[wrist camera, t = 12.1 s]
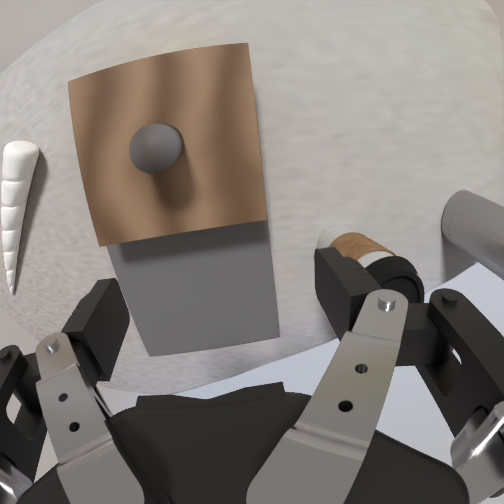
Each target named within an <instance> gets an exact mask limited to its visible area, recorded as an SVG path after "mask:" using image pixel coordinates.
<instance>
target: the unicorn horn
mask: <svg viewBox="0 0 504 504" xmlns="http://www.w3.org/2000/svg"><path fill="white" fill-rule="evenodd" d="M38 155H39V148H38V147H37V145H35V144H33V143H30V142H27V141H13V142H10V143H8V144H7V145H6V146H5V148H4V153H3V167H2V178H3V181H2V186H1V204H2V205H3V207H1V225H2V229H3V231H2V242H3V250H4V251H5V252H4V261H5V268H6V270H7V272H6V275H7V280H8V285H9V287H10V292H11V294H13V291H14V284H15V276H16V267H17V258H18V251H19V244H20V237H21V230H22V224H23V218H24V213H25V208H26V203H27V198H28V193H29V189H30V185H31V181H32V177H33V173H34V168H35V166H36V162H37V159H38Z"/></svg>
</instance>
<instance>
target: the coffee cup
mask: <svg viewBox="0 0 504 504" xmlns="http://www.w3.org/2000/svg"><path fill="white" fill-rule="evenodd" d="M333 246H334V247H335V248H336V249H337V250H338V251H339V252H340V254H341V255H342V256H343V257H347V256H349V257H351V258H353V259H355V260H357V261H358V262H359V263H360V264H361V265H362V266H363V267H364V269H366V270H367V271H368V273H369V274H370V275H371V276H372V277H373V278H374V279H375V280H376V282H377V283H378V284H379V285H380V286H381V287H382V288H383V289H387V290H393V291H397V292H399V293H401V294H402V295H404V296H405V297H406V299H407V300H408V303H424V286H423V283H422V281H421V279H420V277H419V276H418V274H417V271H416V269H415V268H414V266H413V265H412V264H411V263H410V262H409V261H408V260H407V259H405V258H403V257H399V256H396V255H395V254H394V253H393V252H391V251H390V250H388V249H386V248H385V247H383V246H381V245H380V244H378V243H376V242H375V241H373V240H371V239H369V238H368V237H366V236H364V235H362V234H360V233H359V232H357V231H356V230H354V229H352V228H351V227H349V226H347V225H334V226H332V227H330V228H328V229H327V230H326V231H325V232H324V233H323V234H322V235H321V237H320V239H319V241H318V244H317V249H320V248H326V247H333Z"/></svg>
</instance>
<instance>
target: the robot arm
mask: <svg viewBox="0 0 504 504" xmlns="http://www.w3.org/2000/svg"><path fill="white" fill-rule="evenodd" d="M442 232H443V235H444V237H445V239H446V240H447V241H448V242H449V243H451V244H452V245H454V246H456V247H457V248H459V249H460V250H462V251H463V252H464V253H466V254H467V255H469V256H470V257H472V258H473V259H475V260H476V261H478V262H479V263H480V264H482V265H483V266H485V267H486V268H487V269H489V270H490V271H492V272H493V273H495V274H496V275H497V276H498V277H500V278H501V279H503V280H504V207H503V206H501V205H499V204H497V203H494V202H492V201H490V200H488V199H486V198H484V197H481V196H479V195H477V194H474V193H472V192H469V191H466V190H462V191H459V192H457V193H456V194H454V195H453V196H452V198H451V199H450V200H449V202H448V203H447V205H446V208H445V210H444V213H443V218H442ZM314 260H315V290H316V294H317V298H318V300H319V302H320V304H321V306H322V308H323V310H324V311H325V313H326V315H327V317H328V319H329V321H330V323H331V325H332V327H333V329H334V331H335V333H336V335H337V337H338V339H339V341H340V344H339V346H338V348H337V350H336V352H335V354H334V356H333V358H332V360H331V362H330V364H329V366H328V368H327V370H326V372H325V374H324V375H323V377H322V379H321V381H320V383H319V385H318V387H317V388H316V390H315V392H314V394H313V395H312V396H310V395H306V394H302V393H294V392H285V391H284V386H283V382H277V383H271V384H265V385H259V386H252V387H245V388H242V389H239V390H236V391H233V392H230V393H227V394H224V395H221V396H218V397H214V398H211V399H198V398H190V397H183V396H176V395H150V396H138V398H137V403H136V406H135V407H132V408H128V409H125V410H123V411H121V412H119V413H117V414H115V415H113V414H112V412H111V411H110V409H109V408H108V406H107V404H106V402H105V400H104V398H103V397H102V395H101V393H100V391H99V389H98V388H97V386H96V384H97V381H110V378H111V375H112V372H113V369H114V366H115V363H116V360H117V357H118V354H119V351H120V348H121V346H122V343H123V340H124V337H125V334H126V332H127V329H128V326H129V322H130V316H129V311H128V308H127V305H126V303H125V300H124V297H123V294H122V292H121V289H120V286H119V283H118V281H117V280H116V279H115V278H110V279H103V280H98V281H97V282H96V284H95V285H94V287H93V288H92V290H91V291H90V293H88V294H87V295H86V296H85V297H84V298H82V299H81V300H80V302H79V303H78V305H77V306H76V309H75V310H74V311H73V313H72V315H71V316H70V318H69V319H68V321H67V322H66V324H65V326H64V327H63V329H62V331H61V332H58V333H53V334H50V335H48V336H47V337H45V338H44V339H42V340H41V341H40V342H39V344H38V346H37V347H36V352H35V353H31V354H28V355H25V356H24V355H23V354H22V352H21V351H20V349H19V347H18V346H16V345H10V346H7V347H5V348H3V349H1V350H0V504H479V503H480V502H482V501H484V500H485V499H487V498H488V497H489V498H493V497H498V496H500V495H502V494H503V493H504V337H503V336H502V335H501V333H500V332H499V331H498V330H497V329H496V328H495V327H494V326H493V325H492V324H491V323H490V322H489V320H488V319H487V318H486V317H485V316H484V315H483V314H482V313H481V312H480V311H479V310H478V309H477V308H476V307H475V306H474V305H473V304H472V303H471V302H470V301H469V300H468V299H467V298H466V297H465V296H464V295H463V294H461V293H460V292H458V291H455V290H452V289H446V288H444V289H438V290H435V291H434V292H433V293H432V294H431V296H430V301H429V303H408V300H407V299H406V297H405V296H404V295H402V294H401V293H399V292H397V291H393V290H387V289H383V288H382V287H381V286H380V285H379V284H378V283H377V282H376V280H375V279H374V278H373V277H372V276H371V275H370V274H369V273H368V271H367V270H366V269H364V267H363V266H362V265H361V264H360V263H359V262H358V261H357V260H355V259H353V258H351V257H349V256H347V257H343V256H342V255H341V254H340V252H339V251H338V250H337V249H336V248H335V247H334V246H333V247H326V248H320V249H316V250H315V254H314ZM453 349H455V351H456V352H457V353H458V355H459V356H460V359H461V363H462V365H461V364H460V362H459V361H458V359H457V358H456V357H455V355H454V354H453V352H452V351H453ZM414 365H415V367H416V368H417V370H418V372H419V373H420V375H421V377H422V379H423V380H424V382H425V383H426V385H427V387H428V389H429V391H430V393H431V394H432V396H433V398H434V400H435V401H436V403H437V405H438V407H439V409H440V411H441V413H442V414H443V416H444V418H445V420H446V422H447V424H448V426H449V427H450V430H451V432H452V434H453V436H454V438H455V439H454V440H453V442H452V445H451V450H450V452H451V458H452V466H453V468H452V467H451V466H449V465H447V464H446V463H444V462H442V461H439V460H437V459H435V458H433V457H431V456H428V455H426V454H424V453H422V452H420V451H418V450H416V449H413V448H411V447H409V446H407V445H405V444H403V443H401V442H399V441H397V440H395V439H393V438H391V437H389V436H387V435H385V434H383V433H382V432H380V431H378V430H376V429H375V428H376V426H377V423H378V420H379V417H380V414H381V411H382V408H383V405H384V402H385V399H386V395H387V392H388V389H389V385H390V382H391V378H392V375H393V371H394V368H395V366H414ZM12 393H13V394H14V395H15V396H16V398H17V399H18V400H19V401H20V403H21V404H22V405H21V407H20V410H19V412H18V415H17V417H16V420H15V422H14V424H13V423H12V422H11V421H10V420H9V418H8V416H7V413H6V407H7V404H8V402H9V399H10V397H11V395H12ZM47 430H48V433H49V435H50V439H51V442H52V445H53V448H54V451H55V453H56V456H57V459H58V463H57V464H56V465H55V466H54V467H53V468H52V469H51V470H49V471H48V472H47V473H46V474H45V475H43V476H42V477H41V478H40V479H39V480H38V481H36V482H35V483H34V479H35V475H36V471H37V467H38V463H39V459H40V455H41V451H42V447H43V444H44V440H45V437H46V434H47Z"/></svg>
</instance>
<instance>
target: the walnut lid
mask: <svg viewBox="0 0 504 504" xmlns="http://www.w3.org/2000/svg"><path fill="white" fill-rule="evenodd" d="M68 89H69V100H70V109H71V117H72V124H73V131H74V138H75V144H76V150H77V156H78V161H79V166H80V171H81V176H82V181H83V185H84V190H85V194H86V198H87V202H88V207H89V210H90V214H91V218H92V222H93V226H94V229H95V233H96V236H97V240H98V243H99V246H100V247H102V246H107V245H113V244H118V243H124V242H130V241H135V240H141V239H147V238H153V237H159V236H165V235H171V234H177V233H183V232H189V231H195V230H202V229H208V228H215V227H221V226H228V225H235V224H241V223H248V222H255V221H262V220H267V214H266V204H265V193H264V183H263V173H262V163H261V154H260V144H259V135H258V125H257V116H256V107H255V98H254V89H253V81H252V72H251V64H250V55H249V47H248V43H238V44H227V45H218V46H209V47H202V48H195V49H188V50H182V51H177V52H171V53H166V54H161V55H156V56H152V57H147V58H143V59H139V60H135V61H131V62H127V63H124V64H120V65H117V66H113V67H110V68H106V69H103V70H100V71H97V72H94V73H91V74H88V75H85V76H82V77H79V78H77V79H74V80H71V81H69V82H68Z"/></svg>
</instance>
